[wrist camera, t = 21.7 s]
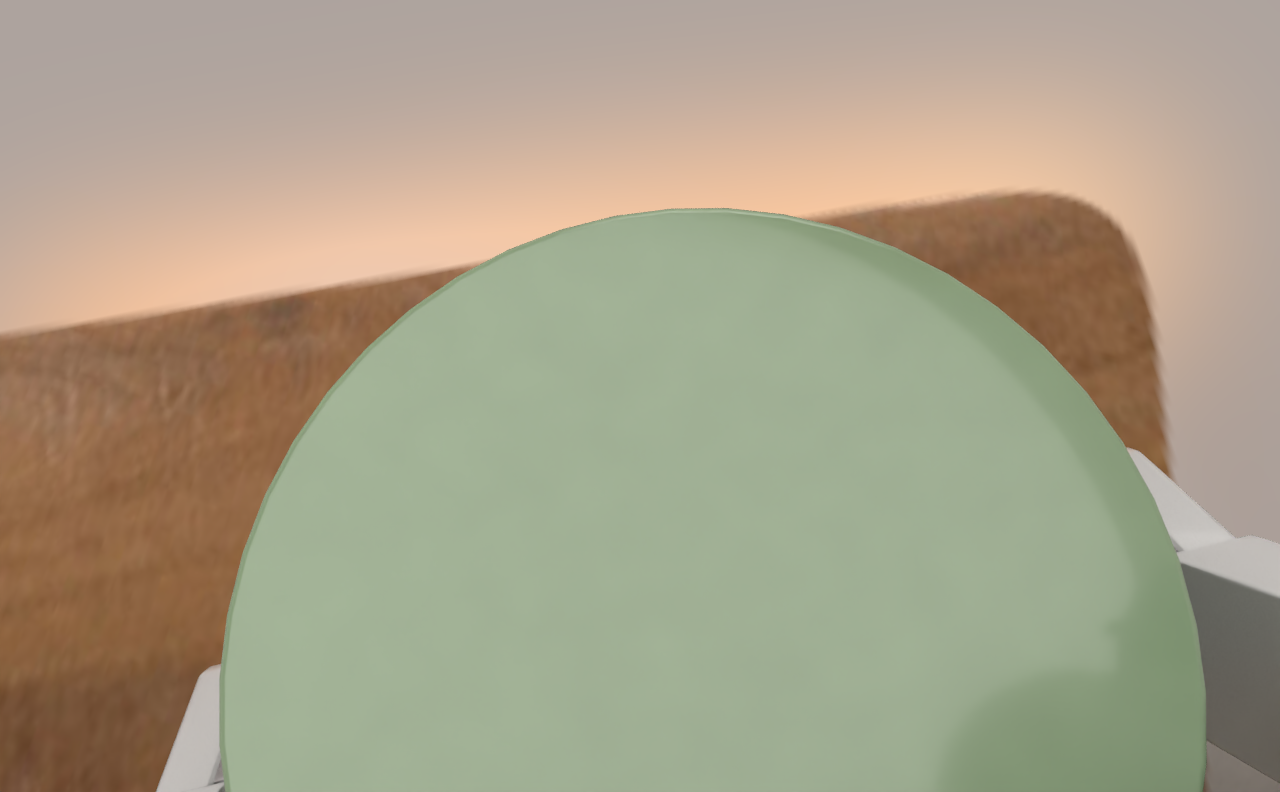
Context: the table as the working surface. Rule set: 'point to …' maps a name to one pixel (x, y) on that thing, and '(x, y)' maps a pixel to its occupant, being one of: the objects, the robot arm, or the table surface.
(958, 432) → the sage green cylinder
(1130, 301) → the table surface
